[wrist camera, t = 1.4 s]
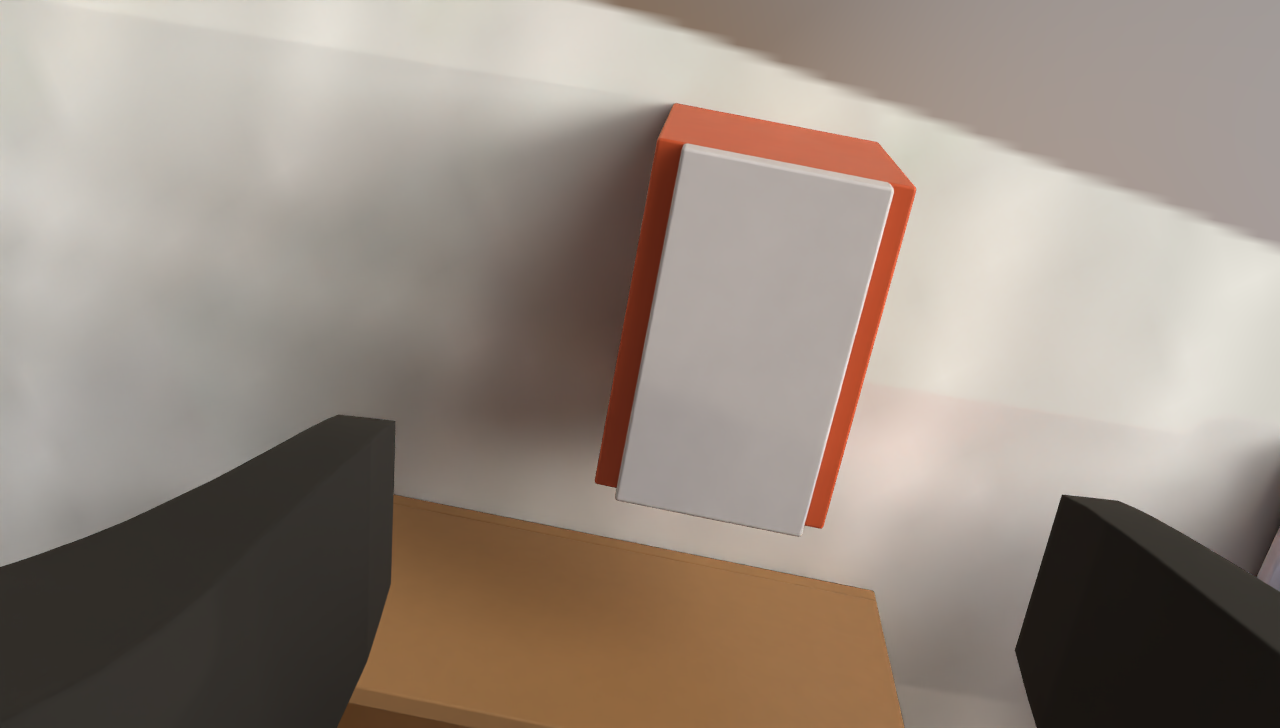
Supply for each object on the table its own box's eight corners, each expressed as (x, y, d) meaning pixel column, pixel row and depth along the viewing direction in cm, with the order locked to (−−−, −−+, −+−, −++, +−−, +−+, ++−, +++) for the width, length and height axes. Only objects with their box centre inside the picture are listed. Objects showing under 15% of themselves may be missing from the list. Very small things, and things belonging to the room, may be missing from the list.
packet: (879, 142, 20) (922, 193, 15) (806, 424, 22) (824, 543, 18) (673, 101, 20) (655, 142, 16) (620, 387, 22) (590, 496, 18)
